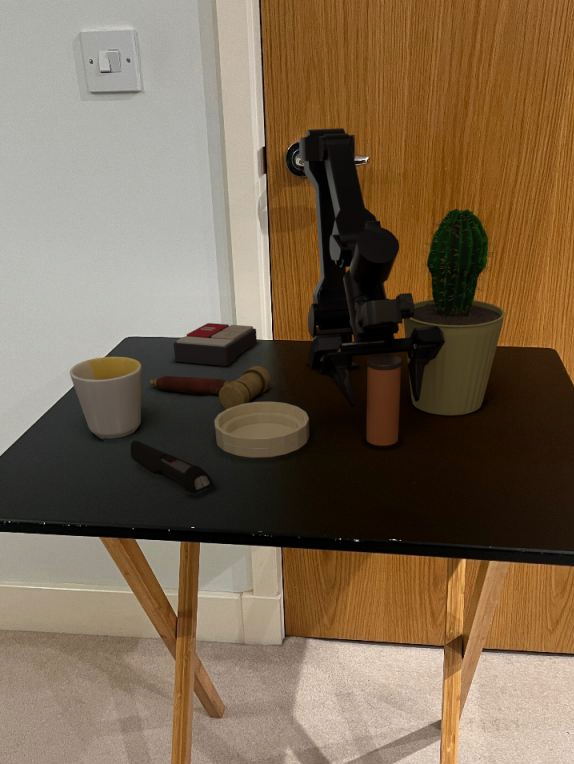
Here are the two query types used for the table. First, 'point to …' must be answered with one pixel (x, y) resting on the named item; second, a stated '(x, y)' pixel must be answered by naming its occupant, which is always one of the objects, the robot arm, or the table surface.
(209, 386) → the gavel
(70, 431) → the table surface
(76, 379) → the mug
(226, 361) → the gray and red box
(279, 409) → the bowl
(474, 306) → the potted cactus
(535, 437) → the table surface
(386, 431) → the copper tin
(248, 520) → the table surface
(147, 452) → the electric trimmer
